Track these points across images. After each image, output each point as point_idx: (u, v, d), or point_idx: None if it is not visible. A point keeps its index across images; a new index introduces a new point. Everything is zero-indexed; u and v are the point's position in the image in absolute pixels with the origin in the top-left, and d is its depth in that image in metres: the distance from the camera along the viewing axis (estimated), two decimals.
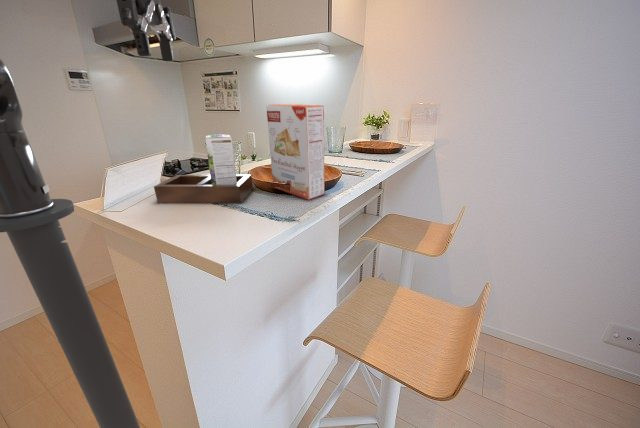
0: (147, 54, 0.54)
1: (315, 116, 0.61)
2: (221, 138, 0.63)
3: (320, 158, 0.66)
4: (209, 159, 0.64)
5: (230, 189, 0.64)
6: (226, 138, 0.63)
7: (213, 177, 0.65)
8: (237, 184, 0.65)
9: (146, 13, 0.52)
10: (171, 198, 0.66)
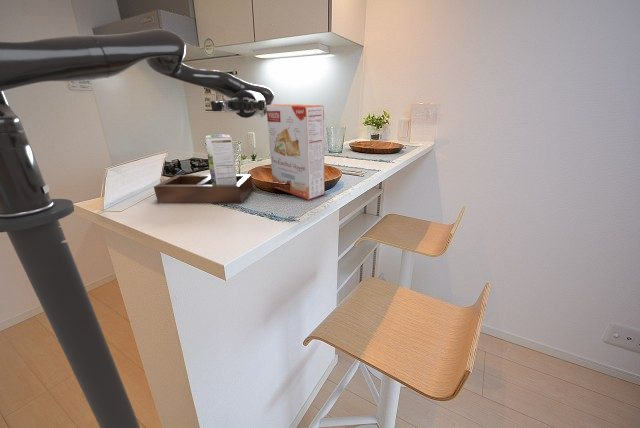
0: (249, 109, 0.73)
1: (315, 116, 0.61)
2: (221, 138, 0.63)
3: (320, 158, 0.66)
4: (209, 159, 0.64)
5: (230, 189, 0.64)
6: (226, 138, 0.63)
7: (213, 177, 0.65)
8: (237, 184, 0.65)
9: None
10: (171, 198, 0.66)
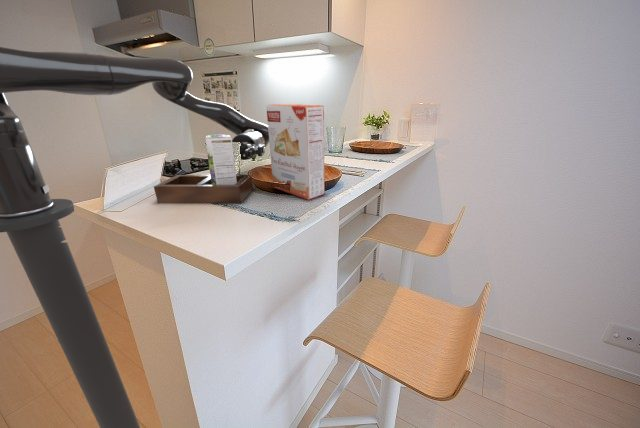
0: (248, 157, 0.74)
1: (315, 116, 0.61)
2: (221, 138, 0.63)
3: (320, 158, 0.66)
4: (209, 159, 0.64)
5: (230, 189, 0.64)
6: (226, 138, 0.63)
7: (213, 177, 0.65)
8: (237, 184, 0.65)
9: None
10: (171, 198, 0.66)
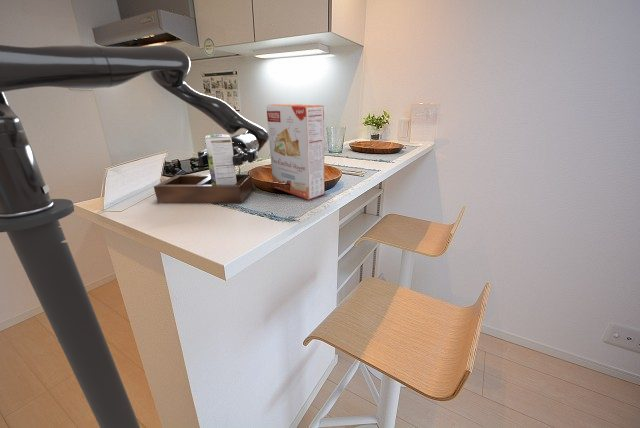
0: (236, 164, 0.66)
1: (315, 116, 0.61)
2: (221, 138, 0.63)
3: (320, 158, 0.66)
4: (209, 159, 0.64)
5: (230, 189, 0.64)
6: (226, 138, 0.63)
7: (213, 177, 0.65)
8: (237, 184, 0.65)
9: None
10: (171, 198, 0.66)
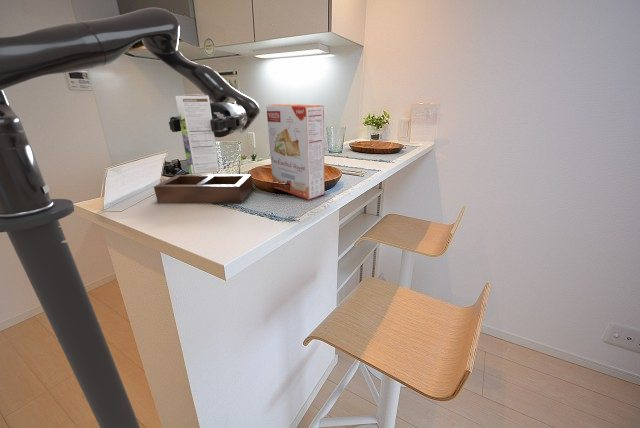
0: (215, 129, 0.54)
1: (315, 116, 0.61)
2: (195, 96, 0.51)
3: (320, 158, 0.66)
4: (181, 122, 0.52)
5: (230, 189, 0.64)
6: (201, 96, 0.52)
7: (187, 146, 0.54)
8: (237, 184, 0.65)
9: None
10: (171, 198, 0.66)
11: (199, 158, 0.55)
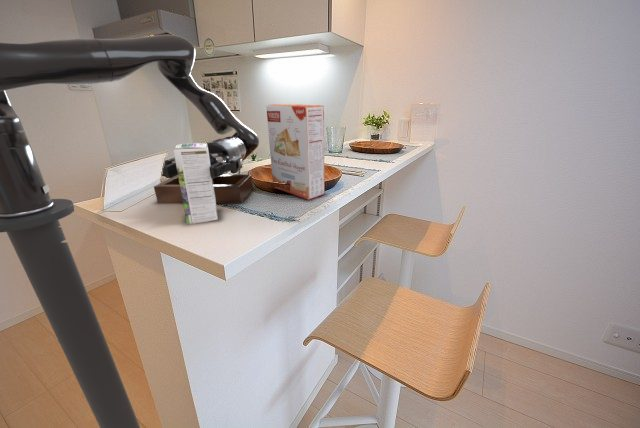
0: (214, 176, 0.52)
1: (315, 116, 0.61)
2: (194, 149, 0.50)
3: (320, 158, 0.66)
4: (179, 175, 0.51)
5: (230, 189, 0.64)
6: (200, 148, 0.51)
7: (185, 197, 0.53)
8: (237, 184, 0.65)
9: None
10: (171, 198, 0.66)
11: (197, 209, 0.54)
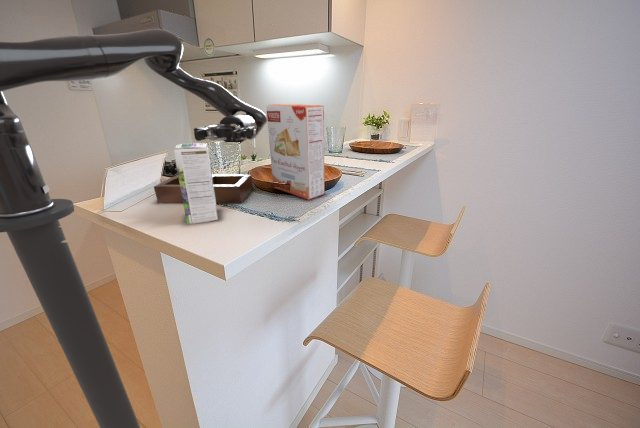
0: (235, 139, 0.66)
1: (315, 116, 0.61)
2: (194, 149, 0.50)
3: (320, 158, 0.66)
4: (179, 175, 0.51)
5: (230, 189, 0.64)
6: (200, 148, 0.51)
7: (185, 197, 0.53)
8: (237, 184, 0.65)
9: None
10: (171, 198, 0.66)
11: (197, 209, 0.54)
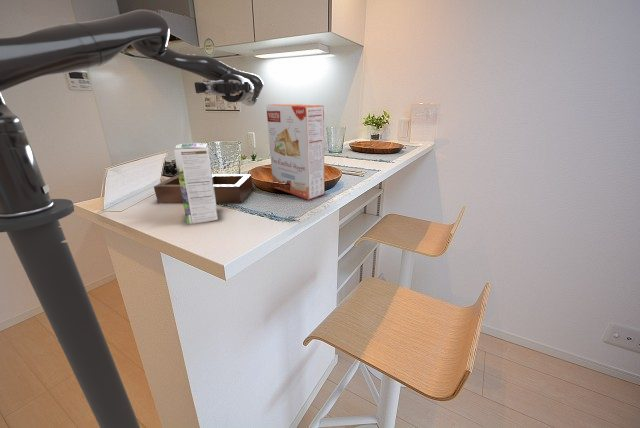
0: (233, 89, 0.70)
1: (315, 116, 0.61)
2: (194, 149, 0.50)
3: (320, 158, 0.66)
4: (179, 175, 0.51)
5: (230, 189, 0.64)
6: (200, 148, 0.51)
7: (185, 197, 0.53)
8: (237, 184, 0.65)
9: None
10: (171, 198, 0.66)
11: (197, 209, 0.54)
